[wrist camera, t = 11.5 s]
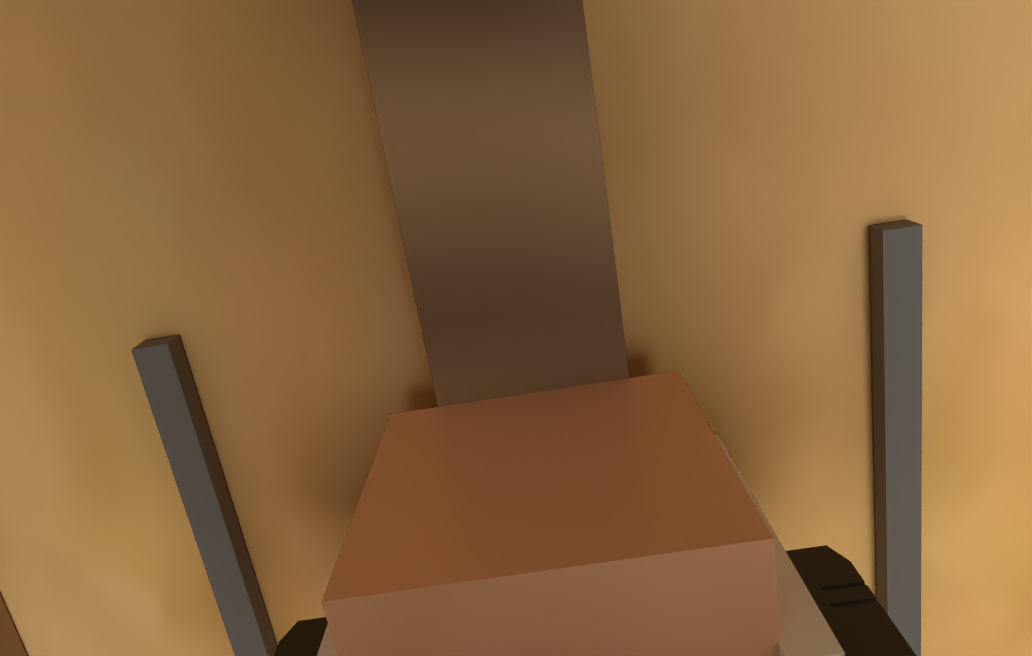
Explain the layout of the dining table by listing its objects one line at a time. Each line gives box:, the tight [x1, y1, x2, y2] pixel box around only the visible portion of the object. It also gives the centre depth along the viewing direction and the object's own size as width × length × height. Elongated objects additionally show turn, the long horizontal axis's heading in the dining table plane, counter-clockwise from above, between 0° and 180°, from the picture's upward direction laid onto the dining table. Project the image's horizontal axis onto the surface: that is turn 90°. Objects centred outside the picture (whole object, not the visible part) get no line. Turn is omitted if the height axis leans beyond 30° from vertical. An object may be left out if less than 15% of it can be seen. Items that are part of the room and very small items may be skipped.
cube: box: [322, 371, 781, 656], centre depth 14 cm, size 6×6×6 cm
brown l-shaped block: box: [352, 0, 629, 407], centre depth 11 cm, size 20×4×12 cm, turn 9°
